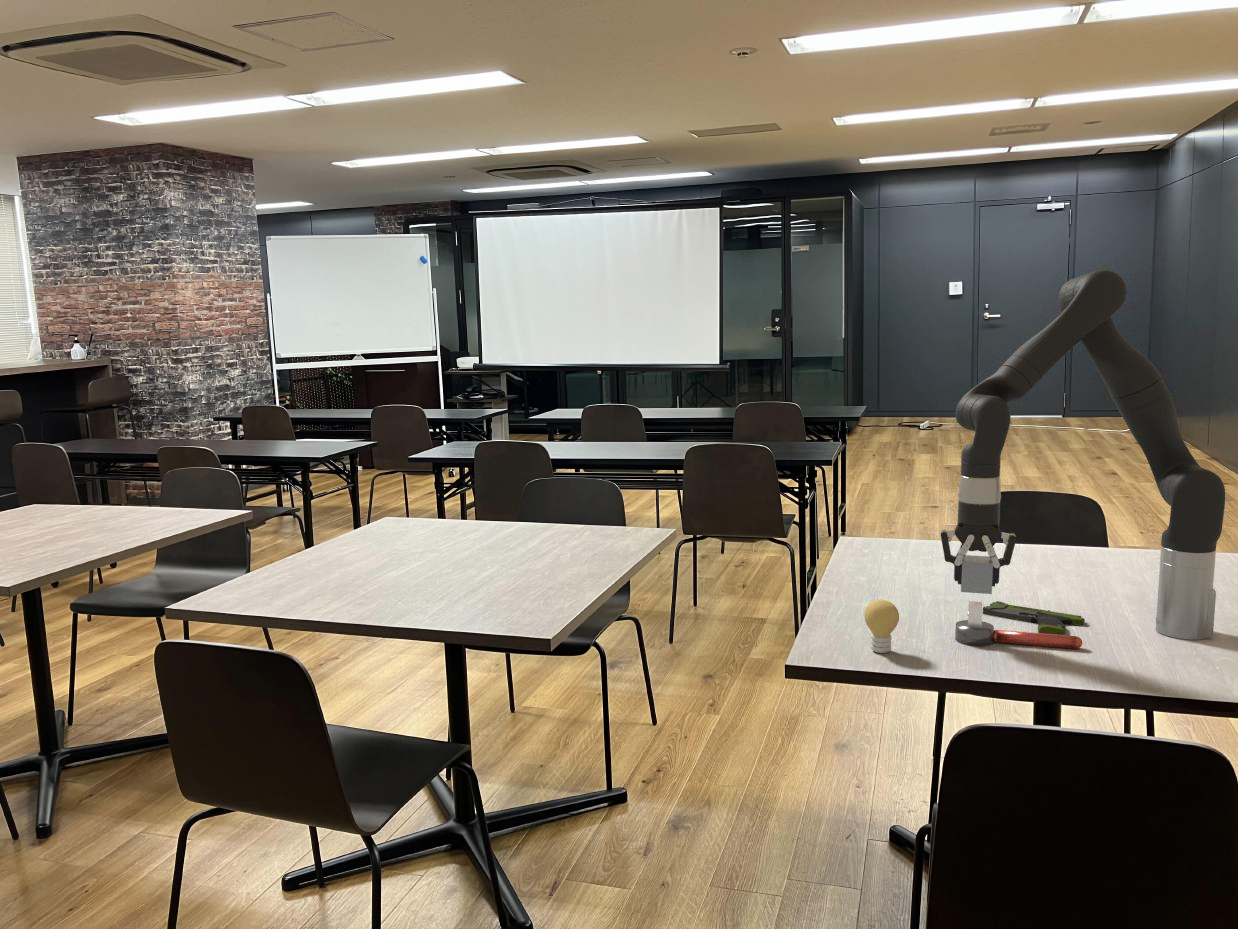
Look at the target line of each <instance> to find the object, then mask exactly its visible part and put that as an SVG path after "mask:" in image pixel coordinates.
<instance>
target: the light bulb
mask: <svg viewBox="0 0 1238 929" xmlns="http://www.w3.org/2000/svg"><path fill="white" fill-rule="evenodd" d="M863 617H864V621H865V624H866V626H867V627H868V629H869V630H870V631H871V635H870V638H871V639H870V644H871V645H870V649H871V650H872V651H873V652H874V653H878V654H886V653H889V652H890V651H891V650H892V635H891V633H892V632H893V631H894V630H895V629H896V627H897V626H898V624H899V622H900V613H899V610H898V608H897V607H896V605H895V604H894V603H893V602H891V601H889V600H887V599H877V600H873V601H871V602H869V603H868V604H867V605H866V607H865V610H864V614H863Z"/></svg>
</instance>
